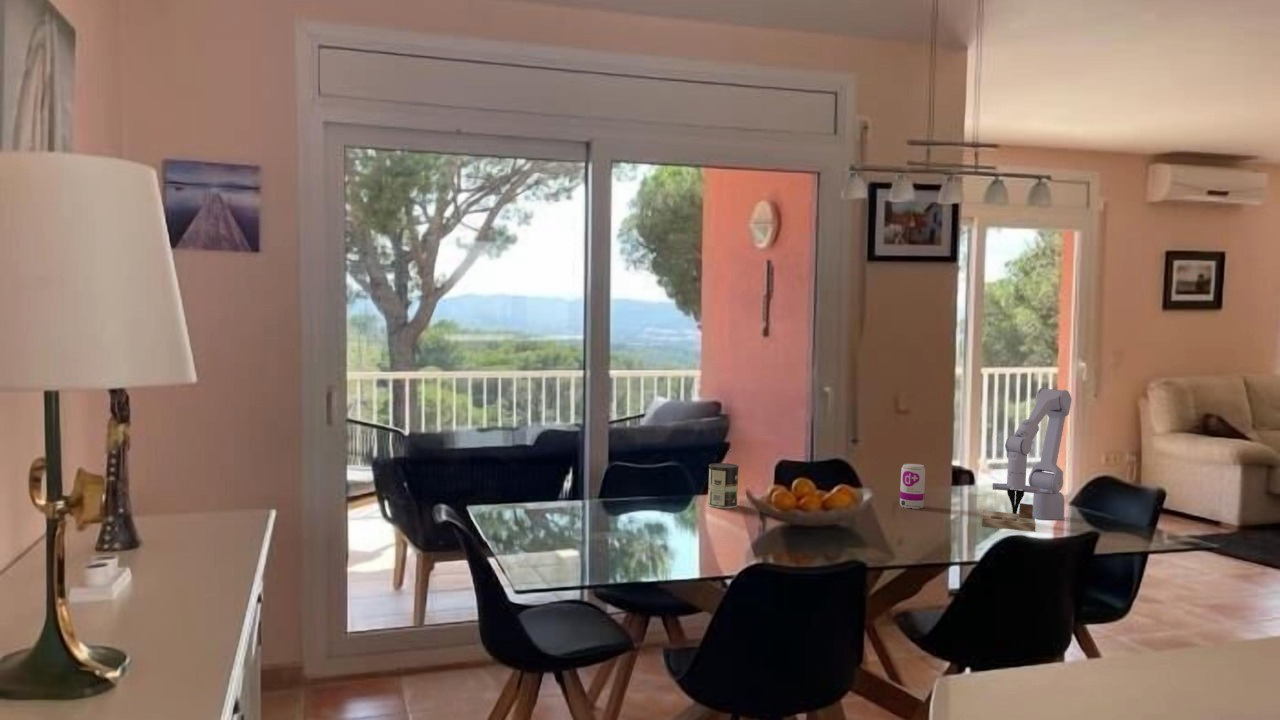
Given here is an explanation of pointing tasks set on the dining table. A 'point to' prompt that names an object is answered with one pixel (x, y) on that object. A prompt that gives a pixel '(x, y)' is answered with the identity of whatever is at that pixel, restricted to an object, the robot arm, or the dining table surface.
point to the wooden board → (1006, 521)
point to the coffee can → (723, 485)
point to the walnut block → (1025, 510)
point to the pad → (1027, 518)
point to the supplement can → (912, 486)
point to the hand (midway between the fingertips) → (1014, 513)
